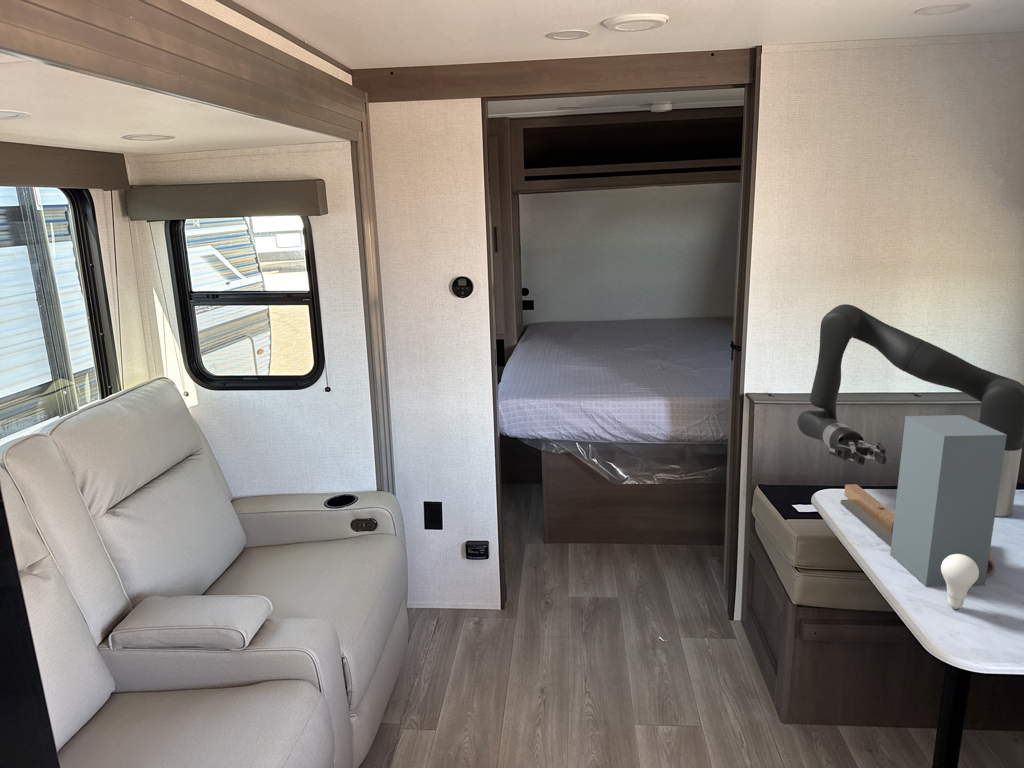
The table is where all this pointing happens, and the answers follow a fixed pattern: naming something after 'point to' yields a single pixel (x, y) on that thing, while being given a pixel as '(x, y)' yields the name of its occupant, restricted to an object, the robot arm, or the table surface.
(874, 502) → the wooden plank with hole
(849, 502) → the rubber mat
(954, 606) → the lightbulb
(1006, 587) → the table surface
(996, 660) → the table surface
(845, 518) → the table surface
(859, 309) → the robot arm
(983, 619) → the table surface
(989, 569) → the coil
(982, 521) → the tall grey-blue box
